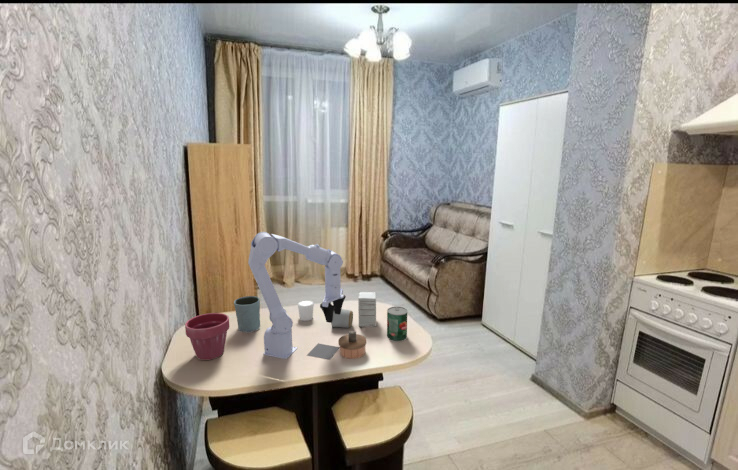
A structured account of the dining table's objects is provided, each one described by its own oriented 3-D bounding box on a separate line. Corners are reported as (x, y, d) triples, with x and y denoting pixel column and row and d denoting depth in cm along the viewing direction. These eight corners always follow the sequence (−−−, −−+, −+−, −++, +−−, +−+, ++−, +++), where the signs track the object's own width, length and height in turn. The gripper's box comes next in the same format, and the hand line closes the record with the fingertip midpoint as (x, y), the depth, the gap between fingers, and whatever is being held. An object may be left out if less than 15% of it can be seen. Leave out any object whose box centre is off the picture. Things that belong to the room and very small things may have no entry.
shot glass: (317, 317, 163) (316, 302, 161) (306, 322, 157) (306, 307, 156) (305, 313, 166) (305, 298, 165) (294, 319, 161) (294, 303, 159)
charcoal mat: (306, 356, 130) (306, 355, 130) (318, 344, 139) (318, 343, 139) (329, 360, 127) (329, 359, 127) (340, 348, 136) (340, 347, 136)
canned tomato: (408, 341, 141) (408, 314, 139) (387, 341, 141) (387, 314, 139) (405, 332, 149) (406, 306, 146) (386, 332, 149) (386, 306, 146)
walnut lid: (334, 346, 129) (333, 336, 128) (344, 334, 138) (344, 324, 137) (360, 351, 126) (360, 341, 125) (370, 338, 135) (370, 328, 134)
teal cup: (254, 334, 147) (252, 305, 144) (231, 332, 148) (228, 304, 146) (265, 323, 157) (264, 296, 154) (243, 321, 158) (241, 295, 156)
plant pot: (210, 341, 141) (208, 309, 139) (240, 348, 136) (237, 315, 133) (179, 359, 128) (175, 325, 126) (210, 368, 123) (206, 332, 120)
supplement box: (359, 319, 161) (359, 291, 158) (376, 319, 160) (376, 291, 158) (358, 326, 153) (357, 298, 151) (375, 327, 153) (376, 298, 151)
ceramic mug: (350, 331, 150) (350, 313, 148) (330, 329, 150) (330, 312, 149) (354, 320, 160) (354, 303, 158) (336, 319, 161) (336, 302, 159)
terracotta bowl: (336, 356, 130) (335, 346, 129) (345, 344, 138) (345, 335, 137) (360, 361, 127) (360, 350, 126) (368, 348, 135) (368, 338, 135)
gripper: (334, 291, 129) (335, 327, 132) (350, 278, 142) (350, 311, 145) (316, 289, 131) (317, 324, 134) (333, 277, 144) (334, 309, 147)
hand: (333, 317), depth 140 cm, fingers open, 7 cm apart
